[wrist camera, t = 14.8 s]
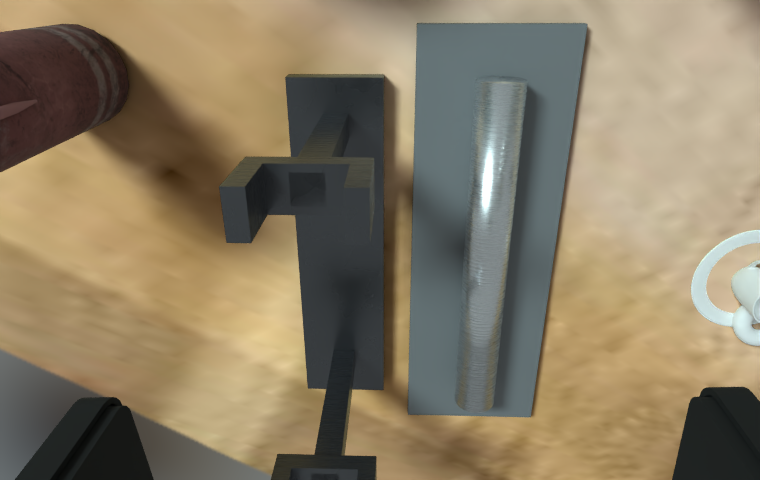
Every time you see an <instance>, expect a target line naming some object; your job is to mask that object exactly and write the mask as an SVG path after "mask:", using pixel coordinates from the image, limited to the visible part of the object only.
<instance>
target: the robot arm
mask: <svg viewBox="0 0 760 480" xmlns="http://www.w3.org/2000/svg"><path fill="white" fill-rule="evenodd" d="M15 480H153V477H152V473H151V471H150V467H149V464H148V461H147V459H146V455H145V452H144V449H143V446H142V443H141V441H140V438H139V434H138V432H137V429H136V426H135V423H134V420H133V417H132V414H131V411H130V409H129V408H128V407H127V406H122V404H121V402H120V400H119V399H117V398H114V397H100V398H81V399H79V400H77V402H75V403H74V404H73V406H72V407H71V408H70V409H69V411H68V412H67V413H66V415H65V416H64V417H63V418H62V420H61V421H60V422H59V424H58V425H57V426H56V428H55V429H54V430H53V431H52V433H51V434H50V435H49V436H48V438H47V439H46V440H45V442H44V443H43V444H42V446H41V447H40V448H39V449H38V451H37V452H36V453H35V454H34V456H33V457H32V459H31V460H30V461H29V462H28V463H27V465H26V466H25V467H24V469H23V470H22V471H21V472H20V474H19V475H18V476H17V478H16V479H15ZM672 480H760V402H759V400H758V399H757V398H756V397H755V395H754V394H753V393H752V392H751V391H750V390H749V389H747V388H745V387H708V388H704V389H703V390H702V391H701V394H700V396H699V397H693V398H692V399H691V401H690V403H689V408H688V412H687V416H686V421H685V425H684V430H683V434H682V439H681V443H680V447H679V452H678V456H677V461H676V465H675V469H674V474H673V478H672Z"/></svg>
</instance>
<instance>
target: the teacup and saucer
mask: <svg viewBox="0 0 760 480" xmlns="http://www.w3.org/2000/svg"><path fill="white" fill-rule="evenodd" d="M752 243H760V230H752V231H747V232H743V233H740V234H737V235H735V236H732V237H730V238H728V239H726V240H725V241H723V242H721V243H720V244H718V245H717V246H716V247H714V248H713V249H712V250H711V251H710V252H709V253H708V254H707V255H706V256H705V257H704V258H703V259H702V261H701V262H700V264H699V265H698V267H697V269H696V271H695V273H694V276H693V279H692V284H691V296H692V300H693V303H694V305H695V307H696V309H697V310H698V311H699V313H700V314H701V315H702V316H704V317H705V318H706V319H708V320H710V321H711V322H714V323H716V324H719V325H723V326H730V327H733V330H734V333H735V335H736V336H737V337H738V338H739V339H740V340H741V341H743V342H744V343H746V344H749V345H753V346H760V329H758V330H757V329H754V328H753V327H752V325H753V324H757V323H760V268H758V267H756V265H757V264H760V260H758V261H755V262H753V263H751V264H750V265H749V266H748V267H744V268H742V269H740V270H739V271H737V272H736V273H735V274H734V276H733V277H732V280H731V287H732V291H733V293H734V295H735V296H736V298H737V299H738V300H739V302H740V303H741V304H742V305H741V306H740V307H739V308H738V309H737V310H736V312H735V313H728V312H725V311H722V310H720V309H718V308H717V307H715V306H714V305H713V304H712V303H711V301H710V300H709V298H708V296H707V292H706V282H707V278H708V275H709V273H710V271H711V269H712V268H713V266H714V265H715V264H716V262H717V261H718V260H719V259H720V258H721V257H723V256H724V255H725V254H727V253H728V252H730V251H731V250H733V249H735V248H738V247H740V246H743V245H747V244H752Z"/></svg>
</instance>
